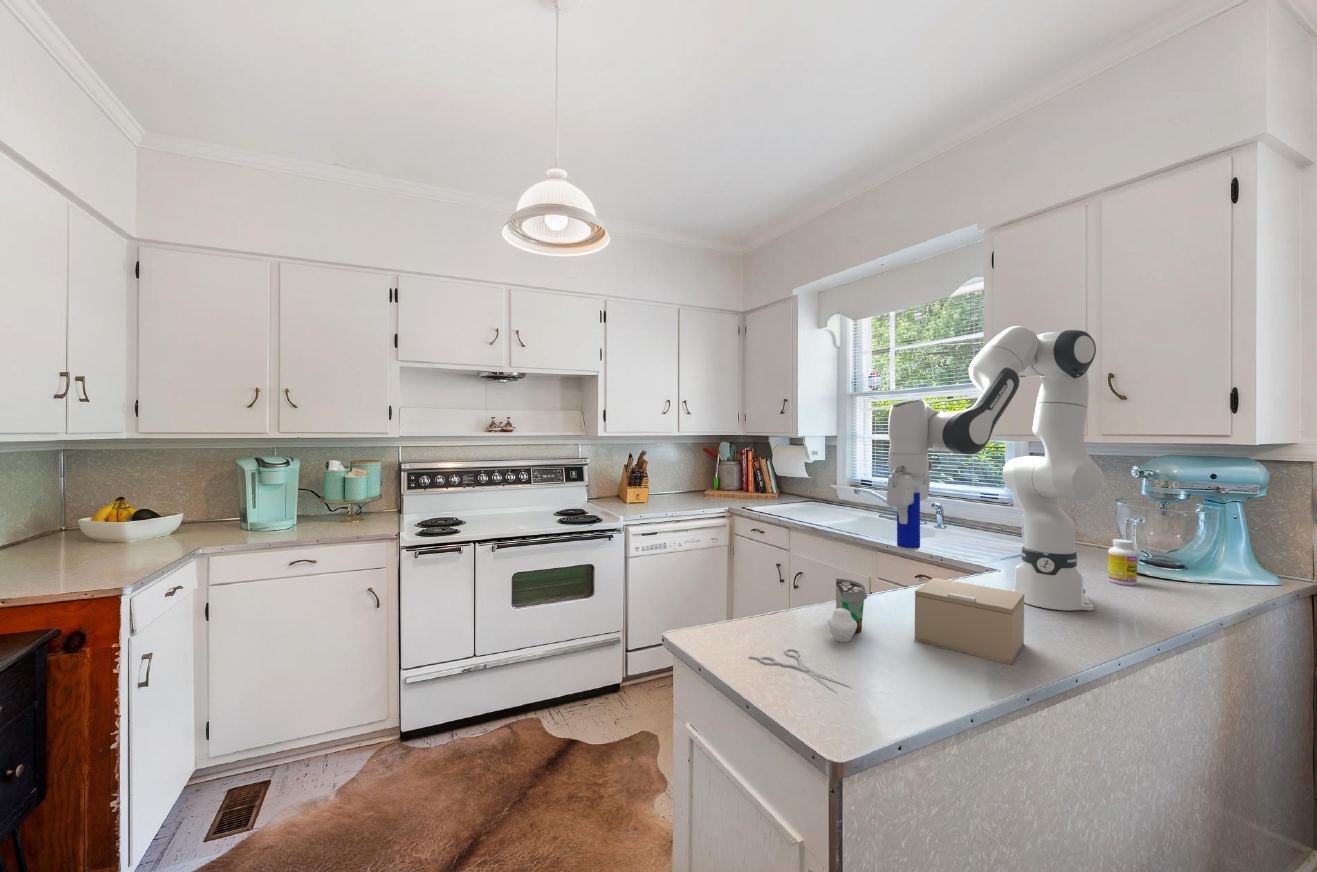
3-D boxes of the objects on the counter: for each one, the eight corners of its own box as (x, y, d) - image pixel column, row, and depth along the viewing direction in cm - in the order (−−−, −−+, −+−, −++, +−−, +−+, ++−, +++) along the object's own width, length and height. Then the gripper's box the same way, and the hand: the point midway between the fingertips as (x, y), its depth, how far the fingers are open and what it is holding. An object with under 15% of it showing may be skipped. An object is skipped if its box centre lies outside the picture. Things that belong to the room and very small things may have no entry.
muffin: (823, 640, 119) (823, 608, 118) (833, 632, 123) (834, 601, 123) (851, 647, 115) (851, 614, 114) (861, 638, 119) (861, 607, 119)
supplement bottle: (1128, 587, 159) (1128, 543, 159) (1102, 581, 165) (1103, 539, 165) (1142, 584, 161) (1142, 541, 161) (1116, 578, 168) (1117, 537, 167)
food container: (871, 639, 119) (871, 594, 119) (842, 637, 120) (842, 592, 120) (862, 620, 131) (862, 579, 131) (835, 618, 132) (835, 577, 132)
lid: (933, 581, 128) (933, 575, 128) (1024, 597, 116) (1024, 590, 116) (914, 595, 118) (915, 587, 118) (1012, 614, 106) (1012, 606, 106)
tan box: (933, 623, 129) (933, 582, 128) (1023, 644, 116) (1024, 598, 116) (914, 640, 118) (914, 595, 118) (1011, 665, 106) (1012, 614, 106)
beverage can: (919, 547, 134) (919, 486, 134) (920, 551, 129) (920, 489, 129) (897, 545, 136) (896, 486, 136) (897, 549, 131) (896, 488, 131)
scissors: (786, 644, 115) (866, 681, 98) (786, 648, 115) (866, 686, 98) (748, 656, 109) (826, 697, 92) (748, 659, 109) (826, 701, 92)
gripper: (907, 468, 122) (908, 529, 123) (934, 463, 137) (934, 517, 138) (879, 467, 127) (879, 526, 127) (908, 462, 142) (908, 514, 142)
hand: (908, 521), depth 132 cm, fingers closed on beverage can, 5 cm apart
